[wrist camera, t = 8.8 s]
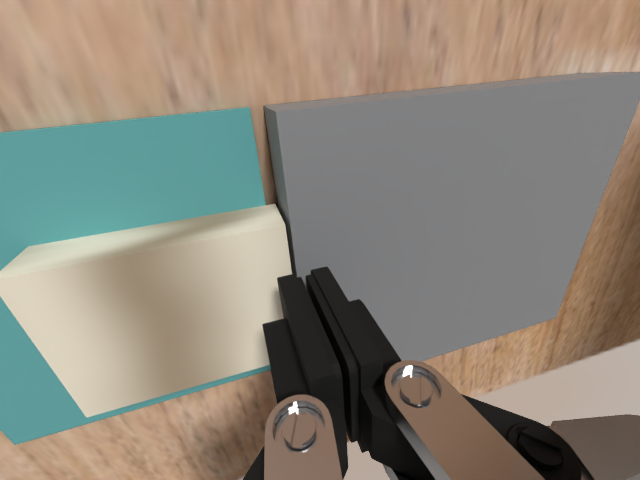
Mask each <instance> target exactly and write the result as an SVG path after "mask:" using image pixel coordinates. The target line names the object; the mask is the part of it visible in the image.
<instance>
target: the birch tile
mask: <svg viewBox="0 0 640 480" xmlns="http://www.w3.org/2000/svg"><path fill="white" fill-rule="evenodd" d="M291 274H292V270H291V262H290V255H289V248H288V241H287V233H286V226H285V223H284V221H283V219H282V217H281V215H280V213H279V211H278V209H277V207H276V204H270V205H264V206H259V207H253V208H247V209H241V210H235V211H230V212H224V213H218V214H212V215H207V216H201V217H195V218H189V219H183V220H178V221H172V222H166V223H160V224H155V225H149V226H143V227H137V228H132V229H126V230H120V231H114V232H108V233H103V234H97V235H91V236H85V237H80V238H74V239H68V240H62V241H56V242H51V243H45V244H39V245H33V246H28V247H27V248H26V249H25V250H23V251H22V252H21V253H20V254H19V255H18V256H17V257H16V258H14V259H13V260H12V261H11V262H10V263H9V264H8V265H6V266H5V267H4V268H3V269H2V270H1V271H0V297H1V298H2V300H3V301H4V302H5V304H6V305H7V307H8V308H9V309H10V311H11V312H12V314H13V315H14V316H15V318H16V319H17V321H18V322H19V324H20V325H21V326H22V328H23V329H24V331H25V332H26V333H27V335H28V336H29V338H30V339H31V340H32V342H33V343H34V345H35V346H36V347H37V349H38V350H39V352H40V353H41V354H42V356H43V357H44V359H45V360H46V361H47V363H48V364H49V366H50V367H51V368H52V370H53V371H54V373H55V374H56V376H57V377H58V378H59V380H60V381H61V383H62V384H63V385H64V387H65V388H66V390H67V391H68V392H69V394H70V395H71V397H72V398H73V399H74V401H75V402H76V404H77V405H78V406H79V408H80V409H81V411H82V412H83V413H84V415H85V416H86V418H87V417H91V416H94V415H98V414H101V413H105V412H108V411H111V410H115V409H118V408H122V407H125V406H129V405H132V404H136V403H139V402H143V401H146V400H150V399H153V398H156V397H160V396H163V395H167V394H170V393H174V392H177V391H181V390H184V389H188V388H191V387H195V386H198V385H201V384H205V383H208V382H212V381H215V380H219V379H222V378H226V377H229V376H233V375H236V374H239V373H243V372H246V371H250V370H253V369H257V368H260V367H264V366H267V365H270V362H269V357H268V352H267V347H266V342H265V336H264V331H263V326H262V324H264V323H268V322H272V321H276V320H280V319H284V318H283V312H282V306H281V300H280V294H279V288H278V282H277V277H282V276H286V275H291Z"/></svg>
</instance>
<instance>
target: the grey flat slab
mask: <svg viewBox="0 0 640 480" xmlns="http://www.w3.org/2000/svg"><path fill="white" fill-rule="evenodd" d="M639 100H640V72H604V73H577V74H567V75H558V76H548V77H538V78H528V79H518V80H509V81H499V82H489V83H479V84H470V85H460V86H450V87H440V88H431V89H421V90H411V91H401V92H391V93H382V94H372V95H362V96H352V97H343V98H333V99H323V100H313V101H304V102H294V103H284V104H274V105H264V113H265V119H266V126H267V133H268V140H269V147H270V153H271V160H272V167H273V174H274V181H275V188H276V194H277V201H278V208H279V213H280V215H281V217H282V219H283V221H284V223H285V226H286V233H287V241H288V248H289V255H290V262H291V270H292V274H294V276H295V278H297V277H301V278H302V280H303V282H304V284H305V287H306V278H305V277H306V275H310V274H311V273H310V272H311V270H313V269H317V268H321V267H326V266H327V267H328V268H329V269H330V271H331V273H332V274H333V276H334V278H335V279H336V281H337V283H338V284H339V286H340V288H341V289H342V291H343V293H344V294H345V296H346V298H347V299H348V301H353V300H357V299H360V300H361V301H362V302H363V303H364V305H365V306H366V308H367V309H368V311H369V312H370V314H371V315H372V317H373V318H374V320H375V321H376V323H377V324H378V326H379V327H380V329H381V330H382V332H383V333H384V335H385V336H386V338H387V339H388V341H389V342H390V344H391V345H392V347H393V348H394V350H395V351H396V353H397V354H398V356H399V357H400V359H401V360H402V361H404V360H415V361H420V362H421V361H424V360H427V359H430V358H433V357H436V356H439V355H443V354H446V353H449V352H452V351H455V350H458V349H461V348H464V347H467V346H470V345H473V344H477V343H480V342H483V341H486V340H489V339H492V338H495V337H498V336H501V335H504V334H508V333H511V332H514V331H517V330H520V329H523V328H526V327H529V326H532V325H535V324H539V323H542V322H545V321H548V320H551V319H554V318H556V316H557V314H558V311H559V308H560V306H561V303H562V301H563V298H564V295H565V293H566V290H567V288H568V285H569V282H570V280H571V277H572V275H573V272H574V269H575V267H576V264H577V262H578V259H579V256H580V254H581V251H582V248H583V246H584V243H585V241H586V238H587V235H588V233H589V230H590V228H591V225H592V222H593V220H594V217H595V215H596V212H597V209H598V207H599V204H600V202H601V199H602V196H603V194H604V191H605V189H606V186H607V183H608V181H609V178H610V176H611V173H612V170H613V168H614V165H615V163H616V160H617V157H618V155H619V152H620V150H621V147H622V144H623V142H624V139H625V137H626V134H627V131H628V129H629V126H630V124H631V121H632V118H633V116H634V113H635V111H636V108H637V105H638V103H639ZM306 289H307V288H306Z"/></svg>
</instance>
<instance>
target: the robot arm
mask: <svg viewBox="0 0 640 480" xmlns="http://www.w3.org/2000/svg"><path fill="white" fill-rule="evenodd" d="M310 273H311V274H310V275H306V277H305V278H306V287H305V284H304V282H303V280H302V278H301V277H297V278H295V276H294V274H291V275H286V276H282V277H277V282H278V288H279V294H280V300H281V306H282V312H283V318H284V319H280V320H276V321H272V322H268V323H264V324H262V326H263V331H264V336H265V342H266V347H267V352H268V357H269V362H270V368H271V373H272V378H273V383H274V389H275V394H276V399H277V405H276V407H275V408H274V409H273V410H272V411H271V413H270V415H269V417H268V419H267V421H266V427H265V446H264V447H263V449H262V450H261V452H260V454H259V455H258V457H257V458H256V460H255V461H254V463H253V464H252V466H251V468H250V469H249V471H248V472H247V474H246V475H245V477H244V479H243V480H343V478H344V476H345V474H346V471H347V469H348V458H347V457H348V456H347V438H346V431H347V434H348V437H349V439H350V441H351V442H355V441H358V444H359V446H360V449H361V451H362V453H363V452H365V451H369V453H370V455H371V458H372V459H374V460H376V461H378V462H380V463H382V464H383V466H384V468H385V471H386V473H387V475H388V476H389V478H390V480H640V416H638V415H617V416H607V417H606V416H605V417H594V418H585V419H574V420H562V421H553V422H552V424H551V426H545V425H543V424H541V423H539V422H536V421H534V420H531V419H528V418H525V417H523V416H520V415H517V414H514V413H512V412H509V411H506V410H503V409H501V408H498V407H495V406H492V405H490V404H487V403H484V402H481V401H478V400H476V399H473V398H470V397H468V396H465V395H462V394H460V393H459V392H458V391H457V390H456V389H455V388H454V387H453V386H452V385H451V384H450V383H449V382H448V381H447V380H446V379H445V378H444V377H443V376H442V375H441V374H440V373H439V372H438V371H437V370H436V369H434V368H433V367H432V366H430V365H428V364H426V363H424V362H420V361H415V360H404V361H402V360H401V359H400V357H399V356H398V354H397V353H396V351H395V350H394V348H393V347H392V345H391V344H390V342H389V341H388V339H387V338H386V336H385V335H384V333H383V332H382V330H381V329H380V327H379V326H378V324H377V323H376V321H375V320H374V318H373V317H372V315H371V314H370V312H369V311H368V309H367V308H366V306H365V305H364V303H363V302H362V301H361V300H360V299H357V300H353V301H348V299H347V298H346V296H345V294H344V293H343V291H342V289H341V288H340V286H339V284H338V283H337V281H336V279H335V278H334V276H333V274H332V273H331V271H330V269H329V268H328V267H327V266H326V267H321V268H317V269H313V270H311V272H310ZM306 288H307V289H306Z"/></svg>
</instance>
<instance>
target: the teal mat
mask: <svg viewBox="0 0 640 480" xmlns="http://www.w3.org/2000/svg"><path fill="white" fill-rule="evenodd" d="M264 205H266V203H265V197H264V191H263V185H262V179H261V173H260V167H259V161H258V155H257V149H256V143H255V137H254V131H253V125H252V119H251V113H250V108H249V107H245V108H235V109H225V110H216V111H206V112H196V113H186V114H177V115H167V116H157V117H147V118H137V119H128V120H118V121H108V122H98V123H89V124H79V125H69V126H59V127H50V128H40V129H30V130H20V131H11V132H1V133H0V271H1V270H2V269H3V268H4V267H5V266H6V265H8V264H9V263H10V262H11V261H12V260H13V259H14V258H16V257H17V256H18V255H19V254H20V253H21V252H22V251H23V250H25V249H26V248H27V247H28V246H33V245H39V244H45V243H51V242H56V241H62V240H68V239H74V238H80V237H85V236H91V235H97V234H103V233H108V232H114V231H120V230H126V229H132V228H137V227H143V226H149V225H155V224H160V223H166V222H172V221H178V220H183V219H189V218H195V217H201V216H207V215H212V214H218V213H224V212H230V211H235V210H241V209H247V208H253V207H259V206H264ZM268 370H271V368H270V365H267V366H264V367H260V368H257V369H253V370H250V371H246V372H243V373H239V374H236V375H233V376H229V377H226V378H222V379H219V380H215V381H212V382H208V383H205V384H201V385H198V386H195V387H191V388H188V389H184V390H181V391H177V392H174V393H170V394H167V395H163V396H160V397H156V398H153V399H150V400H146V401H143V402H139V403H136V404H132V405H129V406H125V407H122V408H118V409H115V410H111V411H108V412H105V413H101V414H98V415H94V416H91V417H87V418H86V416H85V415H84V413H83V412H82V411H81V409H80V408H79V406H78V405H77V404H76V402H75V401H74V399H73V398H72V397H71V395H70V394H69V392H68V391H67V390H66V388H65V387H64V385H63V384H62V383H61V381H60V380H59V378H58V377H57V376H56V374H55V373H54V371H53V370H52V368H51V367H50V366H49V364H48V363H47V361H46V360H45V359H44V357H43V356H42V354H41V353H40V352H39V350H38V349H37V347H36V346H35V345H34V343H33V342H32V340H31V339H30V338H29V336H28V335H27V333H26V332H25V331H24V329H23V328H22V326H21V325H20V324H19V322H18V321H17V319H16V318H15V316H14V315H13V314H12V312H11V311H10V309H9V308H8V307H7V305H6V304H5V302H4V301H3V300H2V298H1V297H0V430H1V431H2V432H3V433H4V434H5V435H6V436H7V437H8V438H9V439H10V440H11V441H12V443H13V444H14V445H16V444H20V443H23V442H26V441H30V440H33V439H37V438H40V437H43V436H47V435H50V434H54V433H57V432H60V431H64V430H67V429H71V428H74V427H78V426H81V425H84V424H88V423H91V422H95V421H98V420H101V419H105V418H108V417H112V416H115V415H118V414H122V413H125V412H129V411H132V410H135V409H139V408H142V407H146V406H149V405H152V404H156V403H159V402H163V401H166V400H169V399H173V398H176V397H180V396H183V395H186V394H190V393H193V392H197V391H200V390H204V389H207V388H210V387H214V386H217V385H221V384H224V383H227V382H231V381H234V380H238V379H241V378H244V377H248V376H251V375H255V374H258V373H261V372H265V371H268Z"/></svg>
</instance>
